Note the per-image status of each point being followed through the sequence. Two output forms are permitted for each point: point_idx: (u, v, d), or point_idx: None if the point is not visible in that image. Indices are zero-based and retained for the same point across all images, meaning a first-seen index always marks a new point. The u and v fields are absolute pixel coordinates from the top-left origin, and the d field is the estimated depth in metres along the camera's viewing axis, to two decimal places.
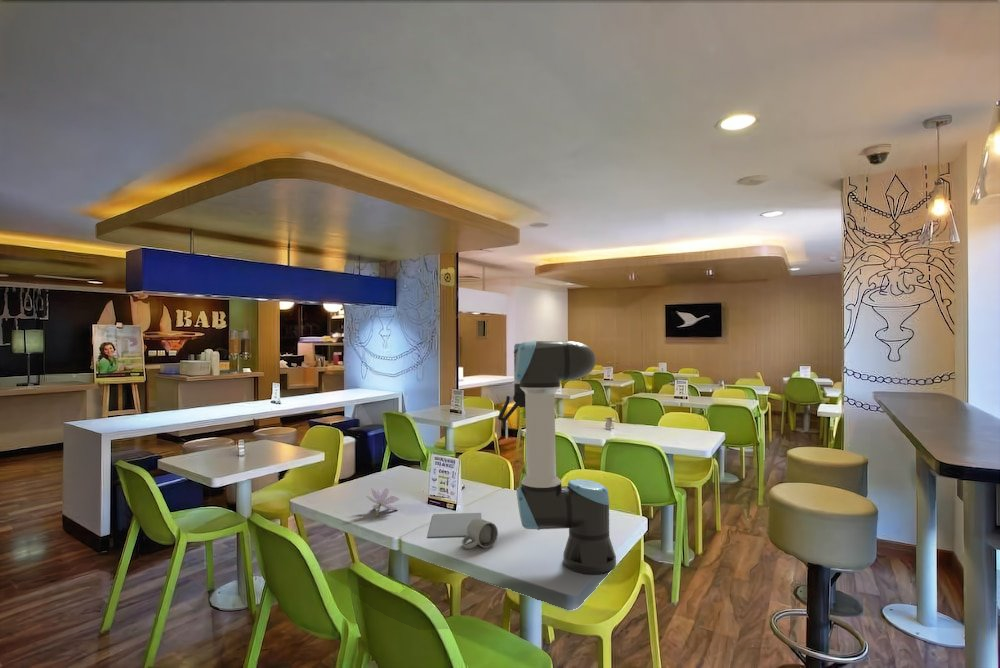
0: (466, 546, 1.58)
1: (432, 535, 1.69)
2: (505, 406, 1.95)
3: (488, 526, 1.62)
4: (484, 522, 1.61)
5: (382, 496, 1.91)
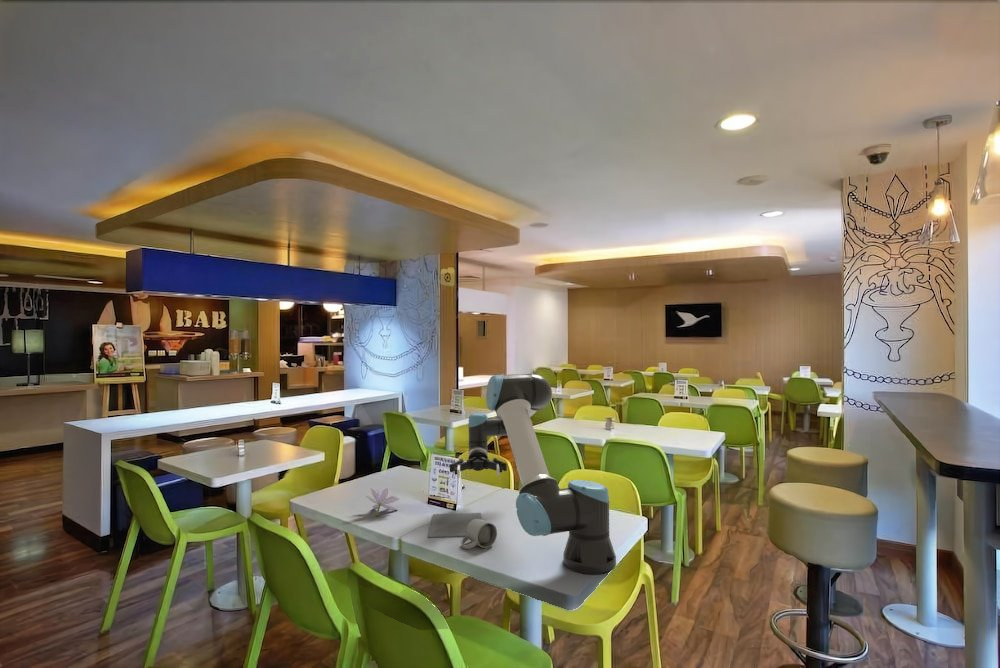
0: (465, 546, 1.58)
1: (432, 535, 1.69)
2: (458, 461, 1.84)
3: (487, 526, 1.62)
4: (483, 522, 1.60)
5: (382, 496, 1.91)
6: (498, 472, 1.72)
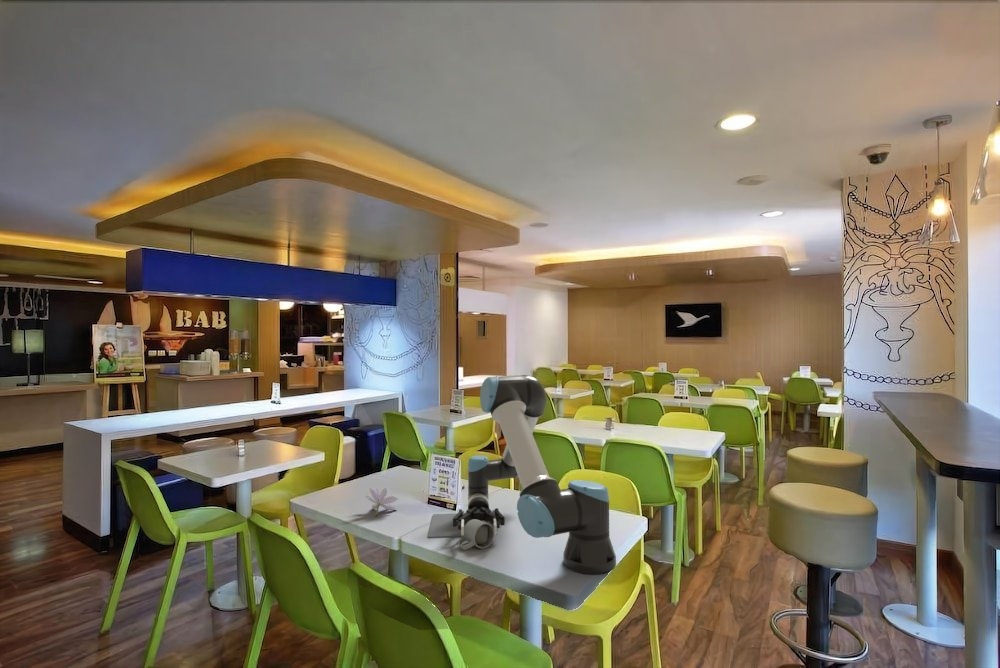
0: (462, 547, 1.57)
1: (432, 535, 1.69)
2: (459, 513, 1.70)
3: (484, 527, 1.61)
4: (480, 523, 1.60)
5: (381, 496, 1.91)
6: (495, 529, 1.58)
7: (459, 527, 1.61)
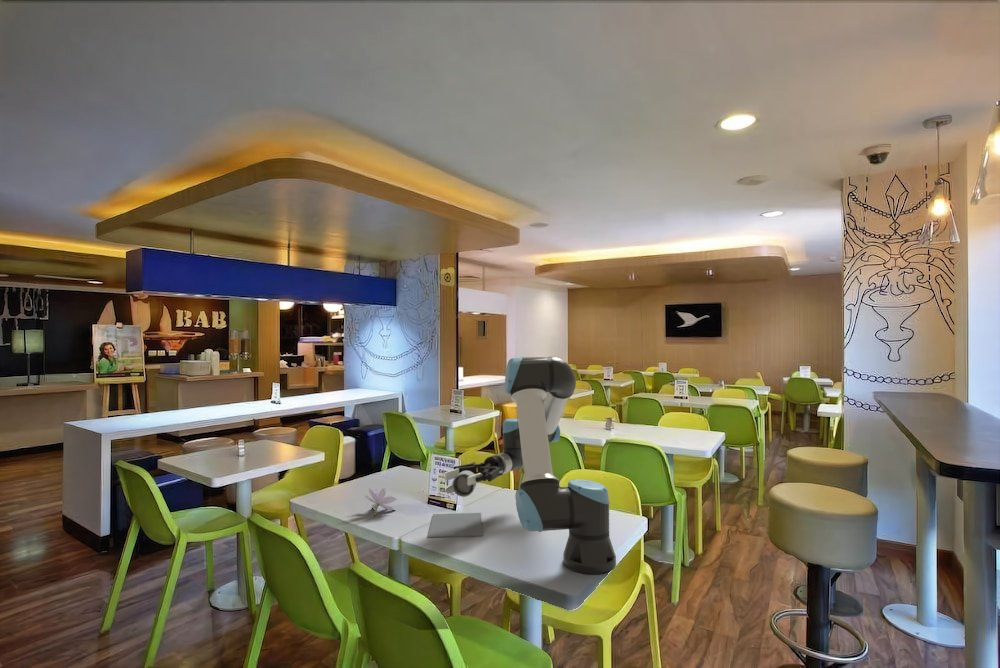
0: None
1: (432, 535, 1.69)
2: (466, 464, 1.85)
3: None
4: (462, 473, 1.72)
5: (379, 496, 1.91)
6: (468, 480, 1.67)
7: None
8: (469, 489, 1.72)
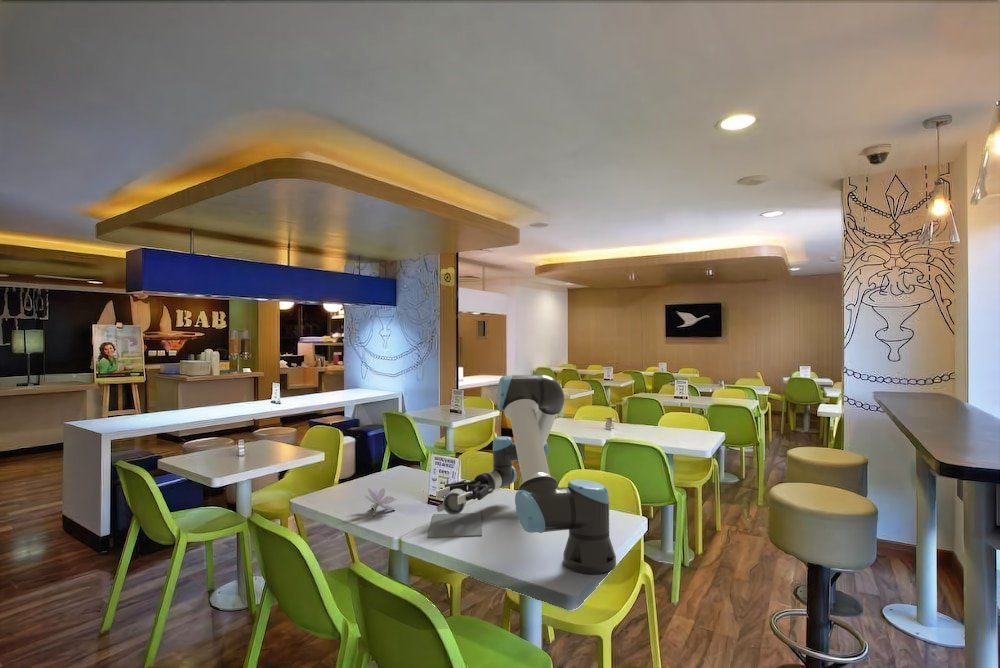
0: None
1: (432, 535, 1.69)
2: (457, 482, 1.90)
3: (457, 496, 1.78)
4: (452, 491, 1.78)
5: (379, 496, 1.91)
6: (458, 499, 1.73)
7: None
8: (459, 507, 1.77)
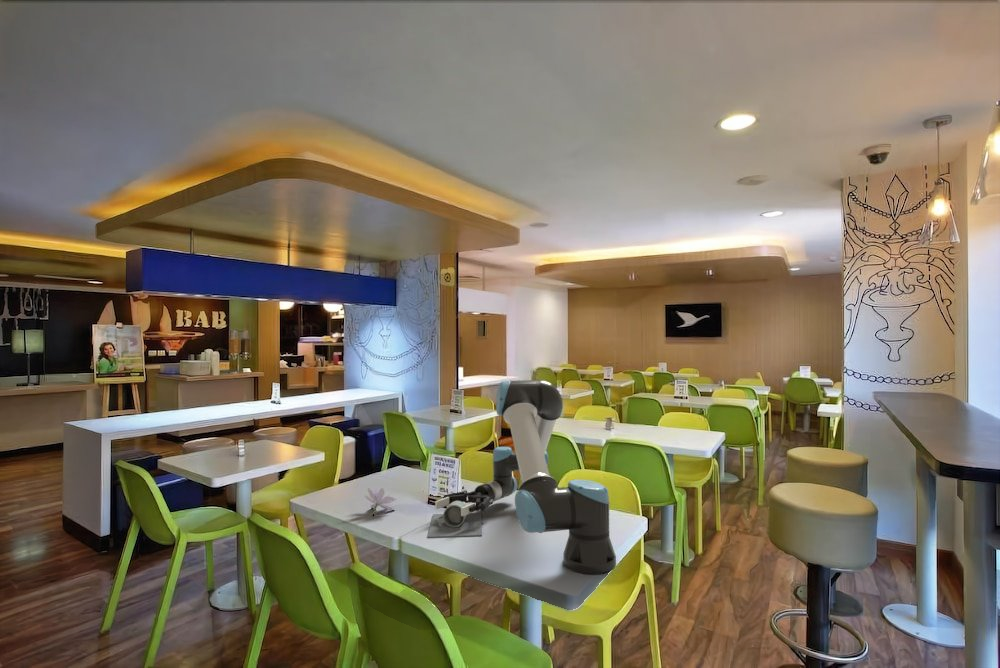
0: (437, 521, 1.79)
1: (432, 535, 1.69)
2: (457, 492, 1.91)
3: (458, 509, 1.78)
4: (453, 504, 1.78)
5: (378, 496, 1.91)
6: (461, 511, 1.73)
7: None
8: (460, 520, 1.77)
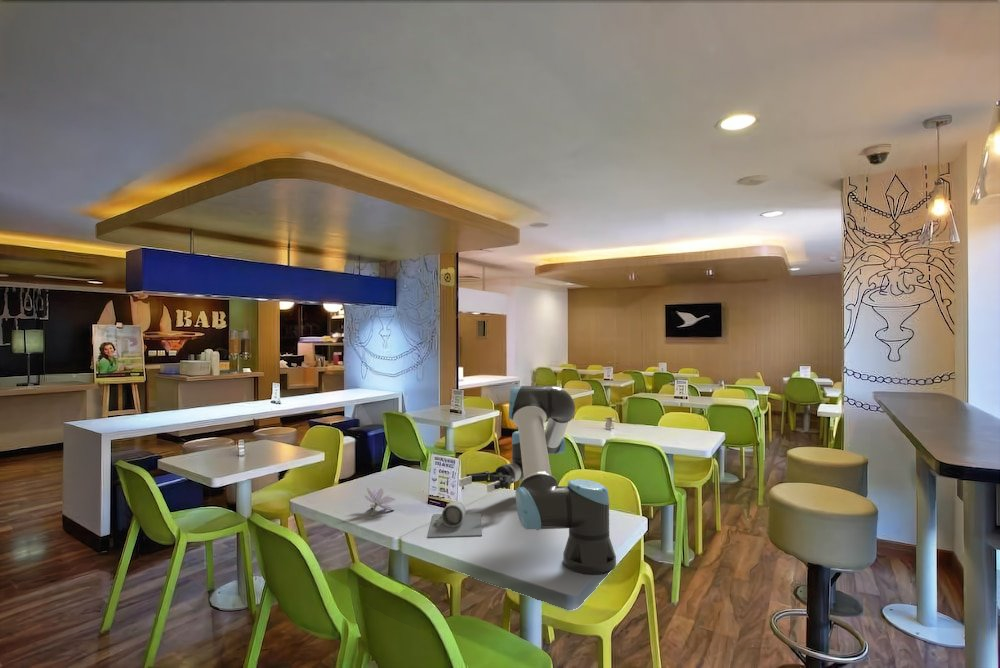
0: (435, 521, 1.79)
1: (432, 535, 1.69)
2: (479, 473, 2.02)
3: (456, 509, 1.78)
4: (451, 504, 1.77)
5: (377, 496, 1.91)
6: (488, 488, 1.84)
7: None
8: (458, 520, 1.77)
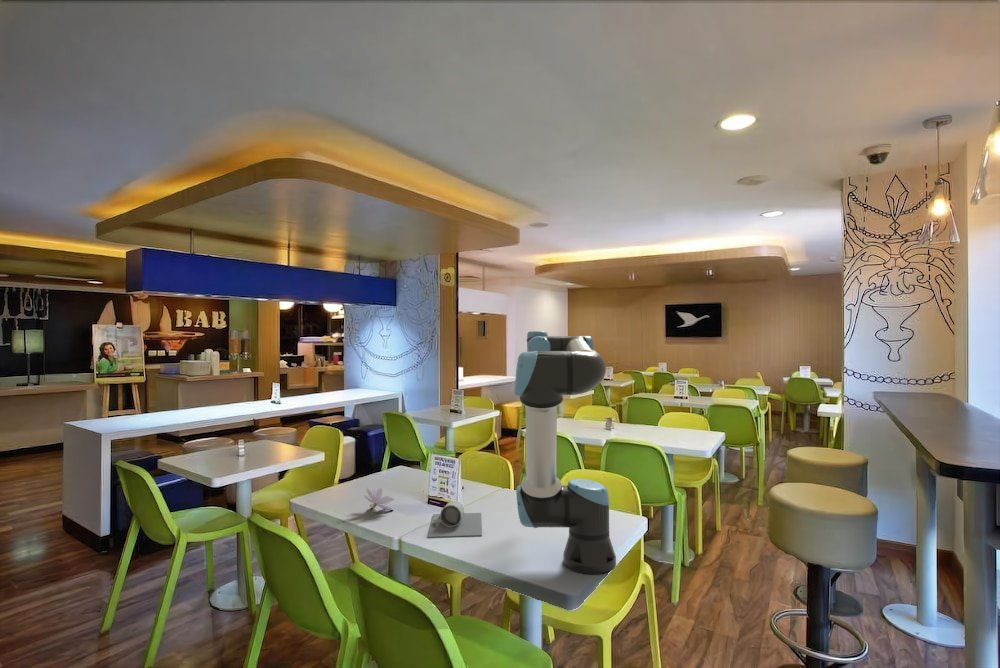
0: (434, 521, 1.79)
1: (432, 535, 1.69)
2: None
3: (454, 509, 1.77)
4: (450, 504, 1.77)
5: (376, 496, 1.91)
6: None
7: None
8: (456, 520, 1.77)
